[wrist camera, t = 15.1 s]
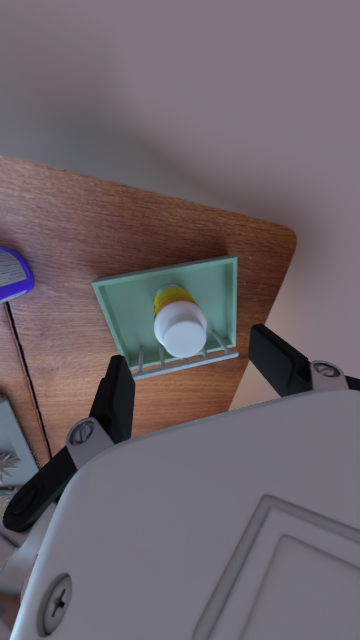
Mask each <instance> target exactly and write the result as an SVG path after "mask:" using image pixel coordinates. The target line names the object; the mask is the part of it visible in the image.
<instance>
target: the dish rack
mask: <svg viewBox="0 0 360 640" xmlns="http://www.w3.org/2000/svg"><path fill="white" fill-rule="evenodd" d="M171 284H175V285H179V286H182V287H183V288H185V289H186V290H187V291H188V292H189V294H190V295H191V296H192V298H193V299H194V300H195V302H196V303H197V304H198V306H199V307H200V308H201V310H202V311H203V313H204V314H205V317H206V320H207V328H206V342H205V345H204V346H203V348H202V349H201V350H200V351H199V352H198V353H196V354H195V355H200V354H203V355H204V357H205V358H201V359H196V360H192V361H188V362H187V357H185V358H180V357H175V356H173V355H171V354H170V353H169V352H168V351H167V350H166V348H165V346H163V345H162V344H161V343H160V342H159V341H158V339H157V338H156V336H155V332H154V318H153V299H154V296H155V294H156V293H157V291H158V290H159V289H161V288H162V287H164V286H166V285H171ZM92 286H93V288H94V291H95V293H96V296H97V298H98V301H99V303H100V306H101V308H102V311H103V313H104V316H105V318H106V321H107V323H108V326H109V329H110V331H111V334H112V336H113V339H114V341H115V344H116V346H117V349H118V351H119V354H121V356H124V357H125V359H126V361H127V364H128V367H129V369H130V370H134V369H138V373H135V374H132V377H133V379H134V380H138V379H142V378H147V377H151V376H155V375H159V374H164V373H168V372H172V371H177V370H181V369H185V368H190V367H194V366H198V365H202V364H207V363H211V362H215V361H220V360H224V359H228V358H233V357H237V356H238V352H237V351H231V352H230V350H229V349H228V348H231V347H235V346H236V307H237V257H236V256H230V255H226V256H220V257H215V258H209V259H203V260H198V261H192V262H186V263H180V264H175V265H169V266H163V267H158V268H152V269H146V270H141V271H135V272H129V273H123V274H118V275H112V276H106V277H101V278H97V279H96V280H95V281H93V282H92ZM222 349H224V351H225V352H226V353H222V354H218V355H214V356H209V355H208V353H209V352H213V351H217V350H222ZM195 355H193V356H195ZM190 357H191V356H190ZM178 359H182V361H183V363H179V364H174V365H170V366H166V367H165V362H169V361H173V360H178ZM156 364H160V365H161V368H157V369H153V370H148V371H144V372H143V367H147V366H151V365H156Z"/></svg>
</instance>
